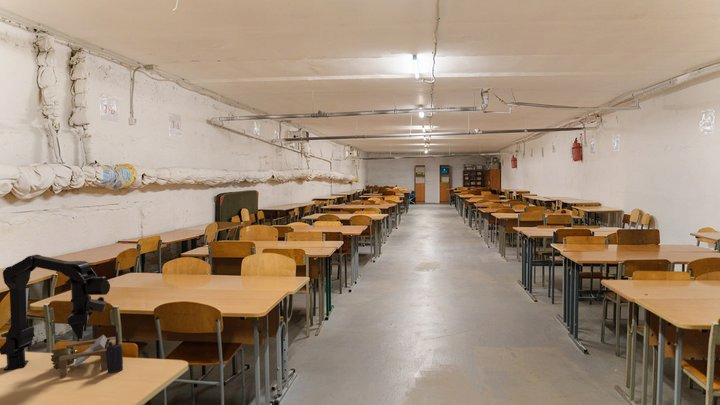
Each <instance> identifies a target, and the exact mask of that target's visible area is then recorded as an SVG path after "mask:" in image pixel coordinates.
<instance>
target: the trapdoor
mask: <svg viewBox="0 0 720 405" xmlns="http://www.w3.org/2000/svg"><path fill="white" fill-rule="evenodd" d="M107 338H108V337H106V336H105V335H104V334H102V335H101V336H99V337H98V338H96V339H95V340H96V342H95V344H91V345H90V346H89V347H88V348H86V349H85V350H83V351H82V352H81V353H83V352H90V351H96V350H103V349H105V344H106V341H107ZM90 357H91V356H86V357H79V358H77V359H75V361H74V363H73V366H74V367H75V368H77V367H78V366H80V365H81V364H83V363H84V362H85V361H86V360H88V359H89V358H90Z"/></svg>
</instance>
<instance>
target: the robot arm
mask: <svg viewBox="0 0 720 405" xmlns="http://www.w3.org/2000/svg"><path fill="white" fill-rule="evenodd" d="M37 268H39V269H43V270H49V271H51V272H52V271H54V272H58V273H61V274H63V276H65V277H67V278H68V279H67V280H66V281H65V283H64V284H65V285H70V290H71V291H70V294H71V299H70V303H71V307H72V308H71V309H70V310H71V314H70V315H69V316H68V317H67V324H68V326H70V327H71V329H72V330H73V333H75V335H76V337H77V338H78V340H81V339H83V336H84V332H87V328H88V322H89V318H90V317H91V315H92V314H93V312H94V311H95V312H96V311H97V312H99V313H104V311H105V309H106V307H107V304H108V303H107V302H108V301H107V300H105V297H102V296H105V295H107V294H109V292H110V289H111V283H110V281H109V280H107V277H106V276H99V275H98V274H97V273H96V272H95V271H94V270H93V268H92V267H91V265H90V263H89V262H88V261H86V260H73V261H71V260H68V261H67V260H62V259H59V258H52V257H48V256H43V255H40V254H33V255H32V254H31V255H29V256H26V257H25V258H23V259H22V260H20V261H18V262H16V263H15V264H12V265H11V266H7V267H6V268H5V269H3V270H2V278H3V282H4V284H5V285H6V286H7V288H8V290H9V308H10V309H9V310H10V311H9V312H10V327H9V329H8V331H7V332H6V337H5V342H4V344H2V345H1V346H0V355H6V366H5V367H4V368H3V371H6V370H7V371H8V370H14V369H20V368H25V367H26V365H27V364H28V362H29V361H30V360H29V359H27V360H26V351H25V350H26V348H30V346H31V344H32V342H33V340H34V338H35V331H34V330H35V327H34V326H30V324H28V319H27V317H28V315H27V294H26V293H27V291H26V290H27V289H26V287H27V285H28V283H29V281H30V279H31V272H33V271H34V270H36V269H37ZM92 296H99V297H98V298H97V299H96V298H95V299H94V298H92Z"/></svg>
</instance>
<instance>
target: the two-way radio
mask: <svg viewBox="0 0 720 405" xmlns="http://www.w3.org/2000/svg"><path fill="white" fill-rule="evenodd" d="M114 333H115V334H114V335H115V336H114V337H116V342H115V344H114V345H112V342H109V346H108V347H107V350H106V358H107V370H106V371H107V373H109V374H111V373H116V372H120V371H122V370H123V369H124V365H123V364H124V359H123V358H124V356H123V354H124V350H123V346H122V344H120V342H119V332H118V330H116V331H115V332H114Z"/></svg>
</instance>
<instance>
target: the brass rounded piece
mask: <svg viewBox="0 0 720 405" xmlns="http://www.w3.org/2000/svg"><path fill="white" fill-rule="evenodd" d="M51 353H53V354H51V355H50V357H51V358H50V361H51V362H52V363H51V365H53V366H52V368H53V370H54V371H57V370H60V368H59V357H60V356H64V355H70V354H77V353H80V352H79V350H78V349H74V350H72V349H70V348H67V347H63V348H57V349H52V350H51ZM75 360H77V358H73V359H67V366H70V365H71V364H73V363H72V362H73V361H74V362H75Z"/></svg>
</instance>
